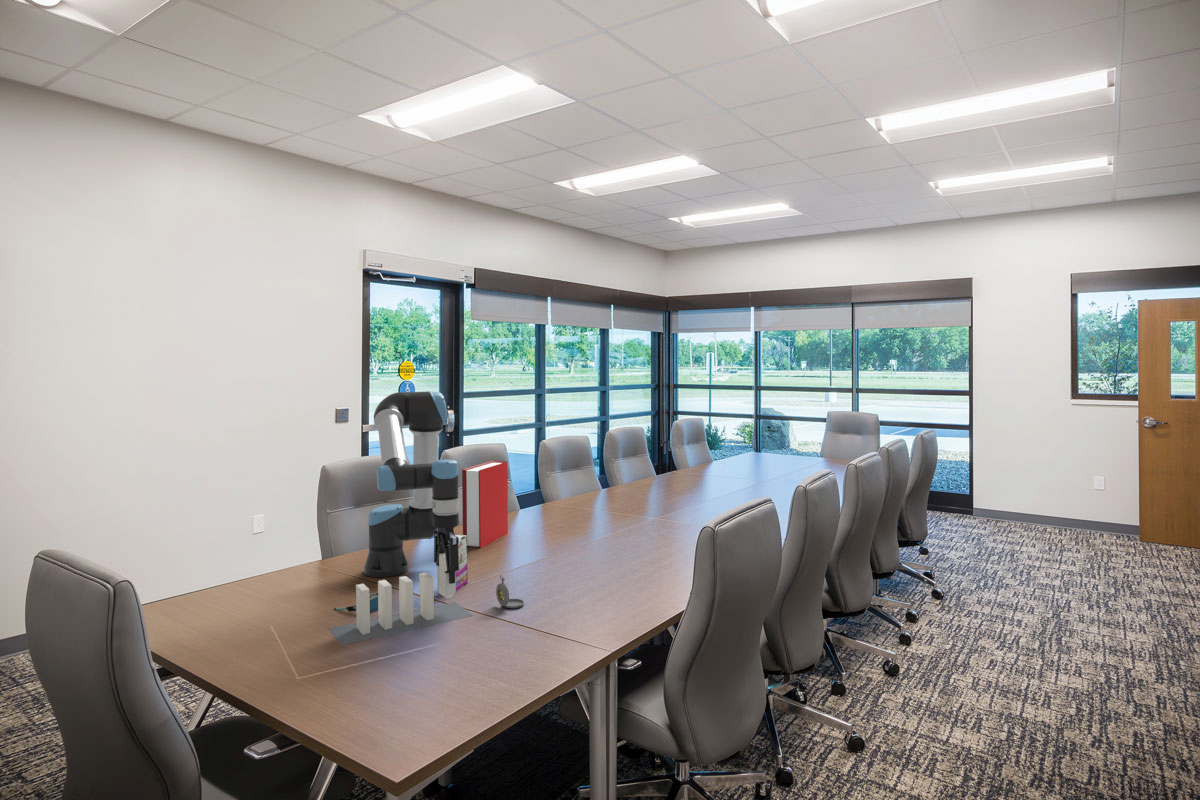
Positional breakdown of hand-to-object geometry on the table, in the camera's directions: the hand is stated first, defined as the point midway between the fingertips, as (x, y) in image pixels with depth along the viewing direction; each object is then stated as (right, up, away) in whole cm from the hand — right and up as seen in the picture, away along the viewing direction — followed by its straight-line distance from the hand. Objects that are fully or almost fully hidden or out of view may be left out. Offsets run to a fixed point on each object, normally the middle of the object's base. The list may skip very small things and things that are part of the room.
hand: (446, 590), depth 195 cm
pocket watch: (+18, -7, +7) cm, 20 cm away
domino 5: (0, -1, 0) cm, 1 cm away
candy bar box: (-3, -6, +24) cm, 25 cm away
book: (-3, -4, +87) cm, 87 cm away
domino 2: (-15, -7, -10) cm, 19 cm away
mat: (-11, -7, -7) cm, 15 cm away
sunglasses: (-27, -7, +7) cm, 28 cm away
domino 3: (-10, -7, -6) cm, 14 cm away
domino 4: (-5, -7, -3) cm, 9 cm away
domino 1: (-20, -7, -13) cm, 25 cm away
